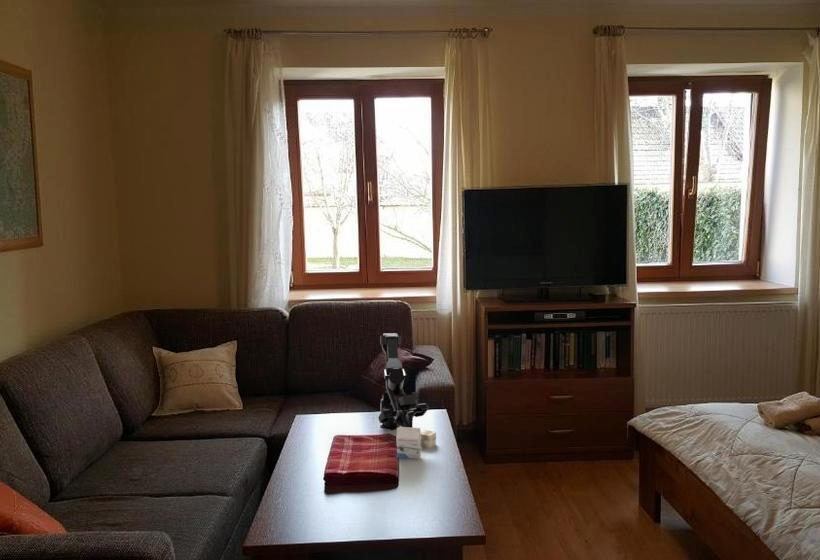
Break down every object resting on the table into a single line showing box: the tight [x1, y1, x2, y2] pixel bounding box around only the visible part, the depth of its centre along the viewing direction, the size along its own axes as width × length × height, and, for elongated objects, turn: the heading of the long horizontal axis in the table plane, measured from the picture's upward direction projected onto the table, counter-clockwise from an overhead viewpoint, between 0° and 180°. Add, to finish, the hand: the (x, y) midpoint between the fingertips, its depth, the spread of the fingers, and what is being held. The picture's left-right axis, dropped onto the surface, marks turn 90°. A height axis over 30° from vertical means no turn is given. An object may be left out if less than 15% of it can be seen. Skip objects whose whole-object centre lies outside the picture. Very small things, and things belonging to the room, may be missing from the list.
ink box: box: [395, 426, 422, 459], centre depth 227 cm, size 9×5×12 cm
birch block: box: [421, 429, 437, 449], centre depth 241 cm, size 5×5×5 cm
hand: (411, 433), depth 229 cm, fingers closed
